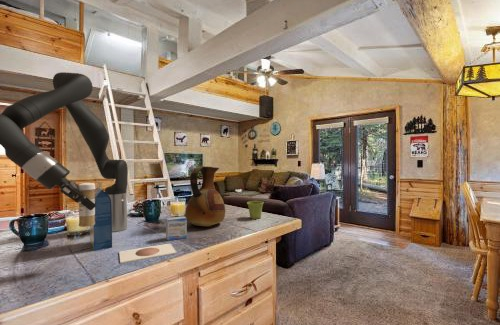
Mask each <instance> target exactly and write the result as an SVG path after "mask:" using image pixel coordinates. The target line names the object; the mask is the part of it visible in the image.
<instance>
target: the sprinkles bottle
mask: <svg viewBox="0 0 500 325" xmlns="http://www.w3.org/2000/svg"><path fill="white" fill-rule="evenodd" d="M77 185H78V188H79V189H80V190H81V191H82V194H84V195H85V196H86V197H87V198H88V199H89V200H91V201H92V202H93V203H95V196H94V195H95V194H94V191H95V189H96V184H95V183H94V182H82V183H77ZM78 217H79V218H78V222H79V223H78V227H81V228H87V227H90V226H92V225H94V224H95V207H94V208H93V209H92V210H89V209H88V208H86V207H85V206H84V205H82V204H81V203H78Z"/></svg>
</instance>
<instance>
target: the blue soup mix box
mask: <svg viewBox="0 0 500 325" xmlns="http://www.w3.org/2000/svg"><path fill="white" fill-rule="evenodd" d="M96 185H97V187H95V189H94V190H95V191H94V194H95V195H94V196H95V201H96V202H97V203H96V206H95V224H94V225H92V226H89V242H90V244H91V248H92V249H93V251H99V250H103V249H104V250H105V249H109V248H112V247H113V232H112V211H111V199H110V197H109V195H108V194H107V193H105V190H103V182H102V181H100V180H97V184H96Z"/></svg>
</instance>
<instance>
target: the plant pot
mask: <svg viewBox="0 0 500 325" xmlns="http://www.w3.org/2000/svg"><path fill="white" fill-rule="evenodd" d="M246 204H247V206H248V212H249V218H250V219H252V220H257V219H261V218H262V213H263V212H262V211H263V207H264V206H263V205H264V204H265V203H264V201H259V200H253V201H252V200H251V201H247V202H246Z"/></svg>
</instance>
